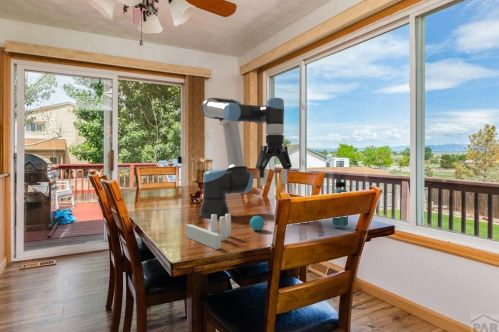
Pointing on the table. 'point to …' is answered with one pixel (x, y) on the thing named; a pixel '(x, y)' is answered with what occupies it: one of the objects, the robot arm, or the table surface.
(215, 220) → the pin
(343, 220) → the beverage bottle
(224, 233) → the pin
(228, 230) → the front pin
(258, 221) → the ball
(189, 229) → the back stop
